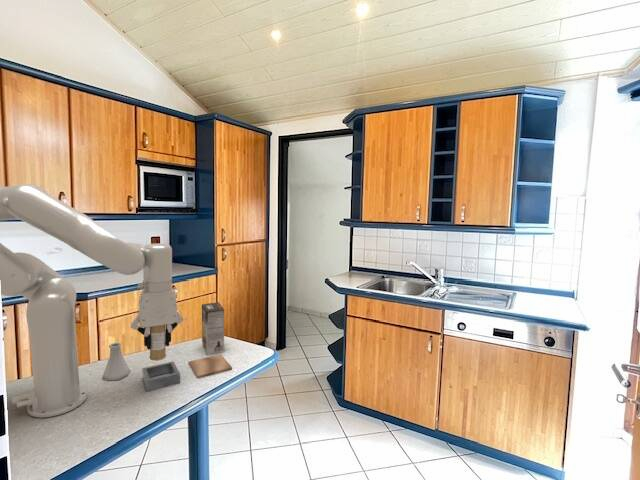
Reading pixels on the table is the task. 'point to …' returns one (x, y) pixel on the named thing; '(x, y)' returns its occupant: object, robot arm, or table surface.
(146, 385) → the steel collar holder
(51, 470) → the table surface
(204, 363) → the walnut board
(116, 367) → the flask
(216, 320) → the coffee box
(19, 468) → the table surface
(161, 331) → the sprinkles bottle
